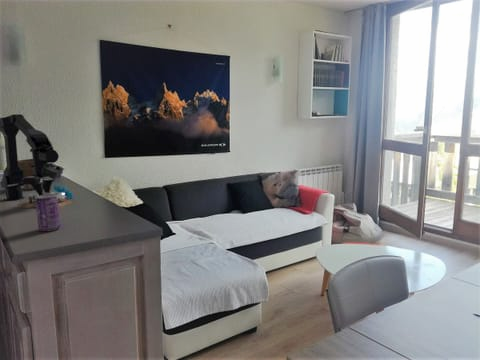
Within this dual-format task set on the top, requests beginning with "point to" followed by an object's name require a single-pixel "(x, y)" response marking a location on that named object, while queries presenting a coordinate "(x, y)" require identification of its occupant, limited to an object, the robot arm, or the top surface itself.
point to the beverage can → (47, 212)
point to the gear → (59, 189)
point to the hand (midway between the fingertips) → (44, 196)
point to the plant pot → (27, 171)
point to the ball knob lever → (59, 195)
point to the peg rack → (32, 205)
